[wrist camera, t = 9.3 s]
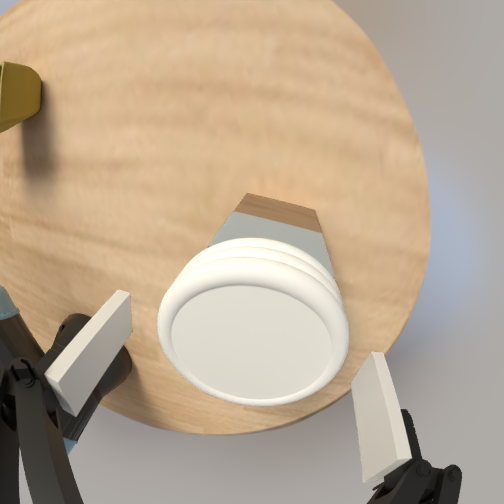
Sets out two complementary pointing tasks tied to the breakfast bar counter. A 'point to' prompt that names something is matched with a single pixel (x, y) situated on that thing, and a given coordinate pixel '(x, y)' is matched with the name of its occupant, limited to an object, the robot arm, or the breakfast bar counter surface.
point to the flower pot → (18, 94)
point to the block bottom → (279, 212)
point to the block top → (274, 235)
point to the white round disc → (254, 323)
